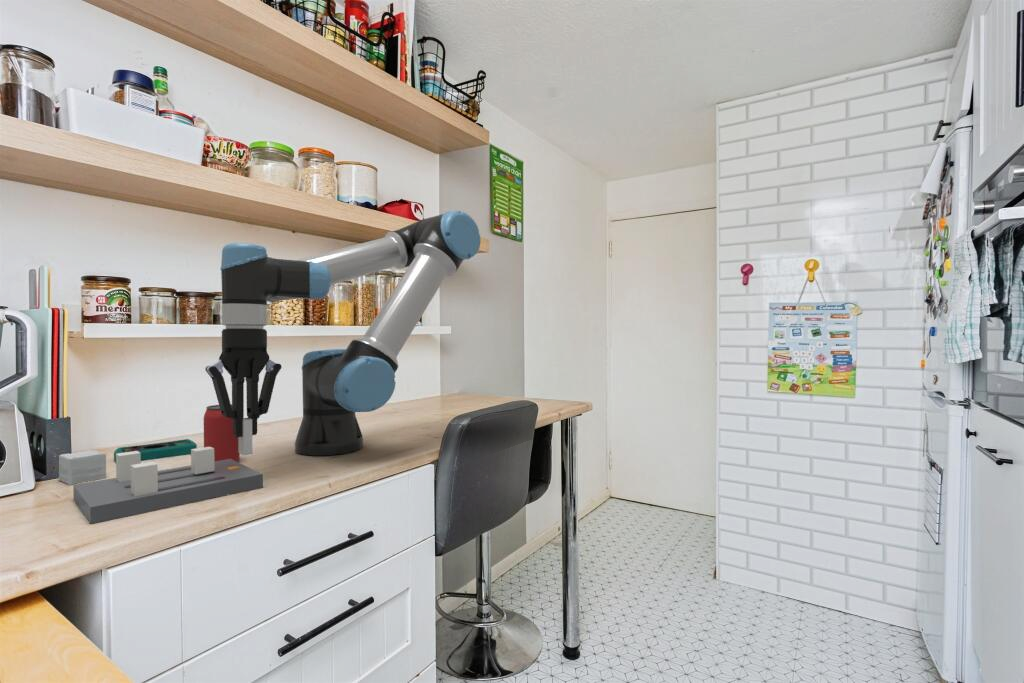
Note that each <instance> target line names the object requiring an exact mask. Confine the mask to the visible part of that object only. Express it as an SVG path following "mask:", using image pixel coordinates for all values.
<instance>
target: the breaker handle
mask: <svg viewBox="0 0 1024 683" xmlns="http://www.w3.org/2000/svg"><path fill="white" fill-rule="evenodd" d="M190 465H191V472H192V473H194V474H200V473H206V472H211V471H215V470H214V448H212V447H204V446H203V447H197V448H196V449H191V454H190Z"/></svg>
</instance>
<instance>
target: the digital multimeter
mask: <svg viewBox="0 0 1024 683" xmlns="http://www.w3.org/2000/svg"><path fill="white" fill-rule="evenodd" d="M196 448H198V447H197V443H196V442H194V441H193V440H191V439H189V438H185V439H177V440H171V441H163V442H157V443H148V444H140V445H133V446H132V445H130V446H122V447H117V449H115V450H114V452H113V461H114V462H115V463H116V454H118V453H125V452H132V451H138V452H140V453H141V462H143V461H144V462H145V461H149V460H151V461H152V460H157V459H164V458H173V457H179V456H187V455H191V449H196Z"/></svg>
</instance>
